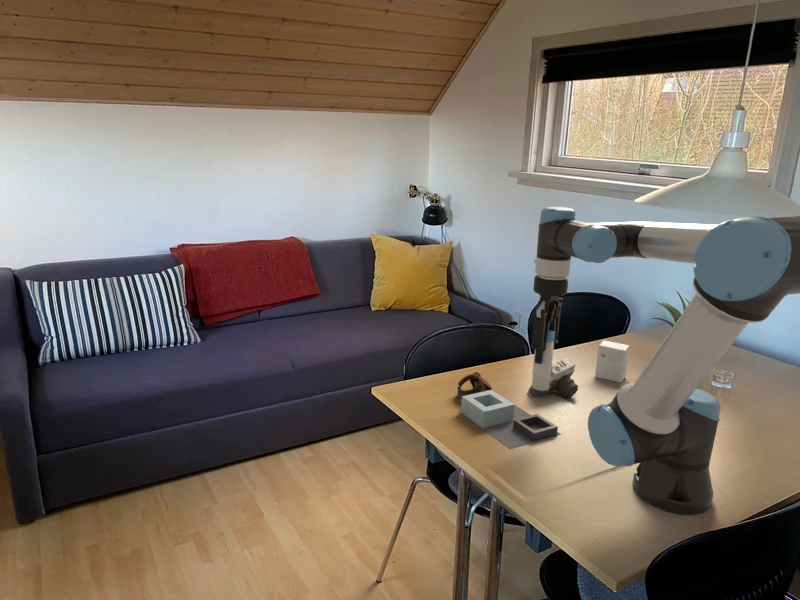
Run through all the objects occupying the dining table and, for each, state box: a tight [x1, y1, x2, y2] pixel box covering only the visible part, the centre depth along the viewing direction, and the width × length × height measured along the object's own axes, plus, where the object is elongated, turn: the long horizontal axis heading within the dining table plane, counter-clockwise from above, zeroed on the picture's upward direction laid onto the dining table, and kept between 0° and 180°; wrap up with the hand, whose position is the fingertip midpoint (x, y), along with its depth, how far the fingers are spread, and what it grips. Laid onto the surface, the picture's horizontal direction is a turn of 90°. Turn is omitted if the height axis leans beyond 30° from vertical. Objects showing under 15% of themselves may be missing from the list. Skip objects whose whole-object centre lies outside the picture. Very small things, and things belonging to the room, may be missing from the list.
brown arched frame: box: [457, 371, 493, 400], centre depth 163 cm, size 12×10×8 cm
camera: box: [527, 357, 579, 399], centre depth 166 cm, size 9×16×10 cm, turn 132°
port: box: [460, 389, 516, 429], centre depth 151 cm, size 10×10×4 cm
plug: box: [531, 330, 555, 391], centre depth 139 cm, size 4×4×14 cm
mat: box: [458, 404, 562, 450], centre depth 149 cm, size 21×16×1 cm
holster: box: [513, 413, 559, 443], centre depth 144 cm, size 8×8×2 cm
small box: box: [594, 340, 630, 384], centre depth 180 cm, size 8×6×10 cm
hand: (541, 371), depth 140 cm, fingers closed on plug, 4 cm apart
